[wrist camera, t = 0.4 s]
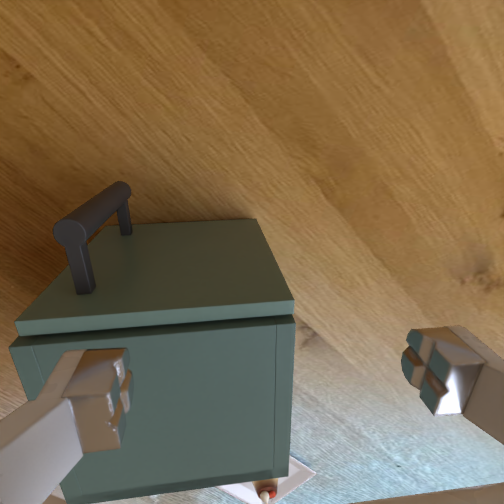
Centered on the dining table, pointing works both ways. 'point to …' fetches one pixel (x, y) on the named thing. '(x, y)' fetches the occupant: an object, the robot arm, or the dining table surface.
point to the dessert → (270, 485)
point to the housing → (183, 405)
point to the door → (155, 272)
